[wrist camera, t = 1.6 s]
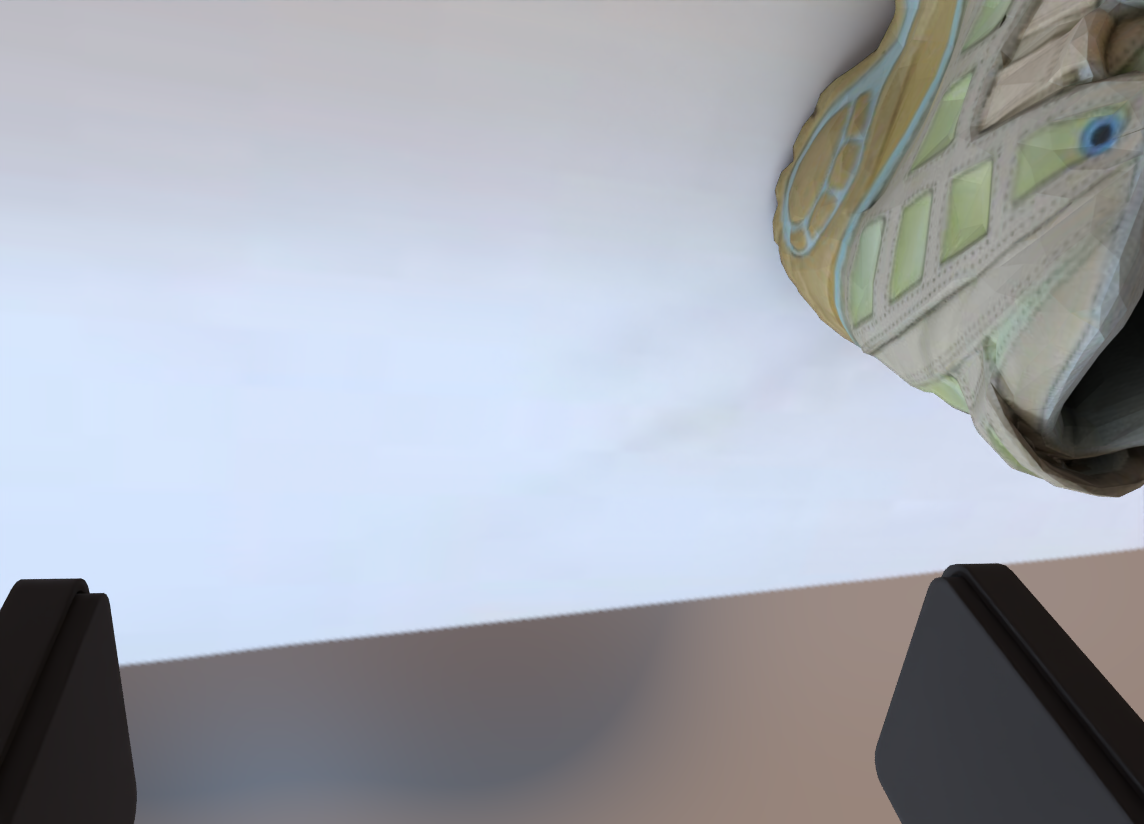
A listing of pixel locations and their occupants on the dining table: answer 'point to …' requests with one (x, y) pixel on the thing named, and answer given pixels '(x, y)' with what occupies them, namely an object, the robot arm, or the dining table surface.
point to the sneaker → (990, 223)
